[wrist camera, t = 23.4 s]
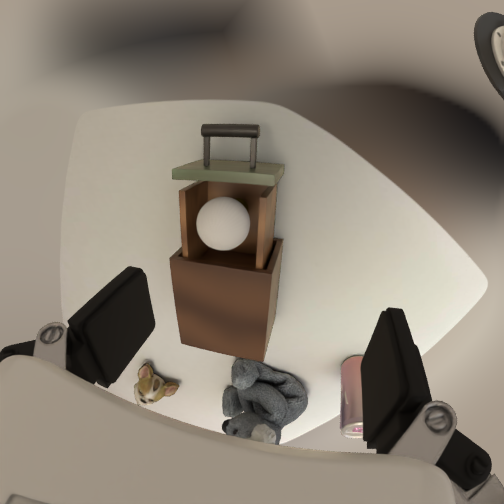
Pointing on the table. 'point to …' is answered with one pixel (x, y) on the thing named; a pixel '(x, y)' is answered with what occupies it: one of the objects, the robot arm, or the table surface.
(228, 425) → the koala plush
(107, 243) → the table surface
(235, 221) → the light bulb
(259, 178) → the drawer
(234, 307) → the cabinet
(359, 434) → the beverage can
